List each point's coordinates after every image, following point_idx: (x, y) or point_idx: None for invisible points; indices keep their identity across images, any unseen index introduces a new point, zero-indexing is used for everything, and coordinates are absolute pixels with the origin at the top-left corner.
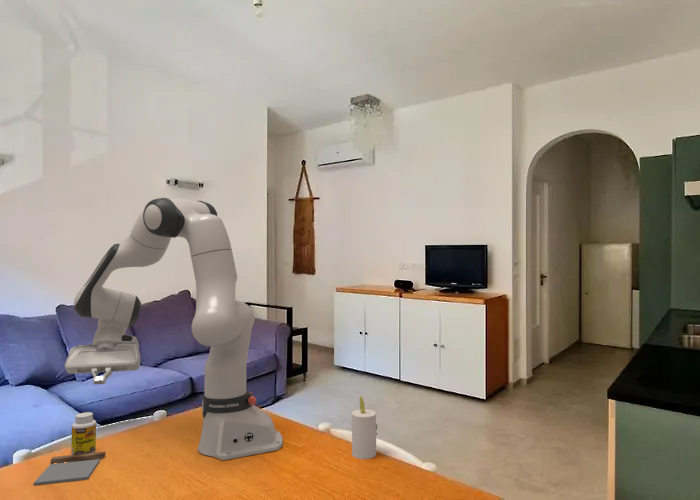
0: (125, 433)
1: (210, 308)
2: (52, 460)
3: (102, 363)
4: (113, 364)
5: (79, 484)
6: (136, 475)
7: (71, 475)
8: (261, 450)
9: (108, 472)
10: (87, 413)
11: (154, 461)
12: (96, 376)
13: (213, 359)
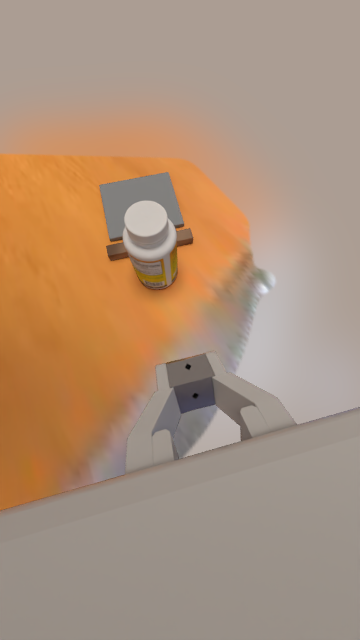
0: (121, 380)
1: None
2: (187, 230)
3: (219, 485)
4: (81, 497)
5: (105, 177)
6: (33, 197)
7: (126, 189)
8: None
9: (79, 207)
10: (141, 225)
11: (16, 240)
12: (212, 374)
13: None
